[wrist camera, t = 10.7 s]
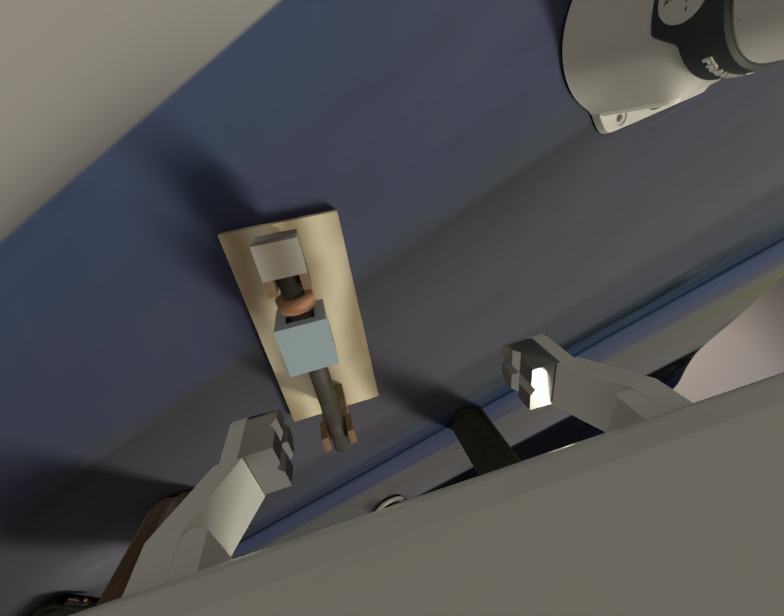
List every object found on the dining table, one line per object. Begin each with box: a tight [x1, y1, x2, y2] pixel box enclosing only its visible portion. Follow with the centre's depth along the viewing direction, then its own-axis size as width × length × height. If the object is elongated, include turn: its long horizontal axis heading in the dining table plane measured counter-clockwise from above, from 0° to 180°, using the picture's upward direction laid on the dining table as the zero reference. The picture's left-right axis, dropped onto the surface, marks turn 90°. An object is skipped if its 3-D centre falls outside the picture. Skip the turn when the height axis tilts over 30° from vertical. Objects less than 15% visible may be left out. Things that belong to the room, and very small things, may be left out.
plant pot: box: [96, 491, 234, 606], centre depth 40 cm, size 16×16×16 cm
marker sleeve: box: [274, 299, 339, 377], centre depth 30 cm, size 5×5×5 cm
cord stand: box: [218, 210, 379, 452], centre depth 35 cm, size 12×26×10 cm, turn 9°
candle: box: [452, 407, 521, 476], centre depth 43 cm, size 5×5×25 cm
